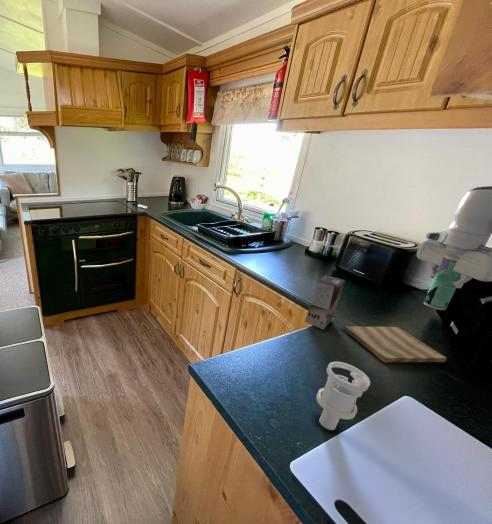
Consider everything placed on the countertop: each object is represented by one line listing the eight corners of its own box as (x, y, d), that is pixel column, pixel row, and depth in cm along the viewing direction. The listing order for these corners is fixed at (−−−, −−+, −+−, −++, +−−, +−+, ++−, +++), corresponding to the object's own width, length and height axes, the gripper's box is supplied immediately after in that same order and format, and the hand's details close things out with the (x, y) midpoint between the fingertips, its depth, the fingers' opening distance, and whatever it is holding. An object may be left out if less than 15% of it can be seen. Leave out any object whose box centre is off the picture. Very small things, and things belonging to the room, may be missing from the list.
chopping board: (396, 330, 100) (397, 326, 100) (444, 362, 86) (447, 358, 85) (343, 329, 98) (345, 326, 98) (384, 362, 83) (386, 358, 83)
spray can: (444, 305, 95) (472, 248, 88) (446, 312, 91) (475, 252, 84) (422, 300, 98) (447, 244, 91) (423, 306, 94) (449, 248, 87)
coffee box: (324, 330, 97) (339, 287, 91) (303, 322, 101) (317, 280, 95) (331, 321, 103) (346, 280, 97) (312, 313, 107) (325, 274, 101)
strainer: (323, 439, 59) (347, 383, 53) (302, 410, 65) (322, 357, 60) (354, 438, 60) (382, 382, 54) (330, 409, 66) (352, 356, 61)
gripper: (518, 252, 77) (492, 297, 82) (438, 232, 96) (421, 270, 101) (497, 251, 77) (473, 297, 82) (421, 231, 96) (405, 270, 101)
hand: (444, 282), depth 92 cm, fingers closed on spray can, 5 cm apart
